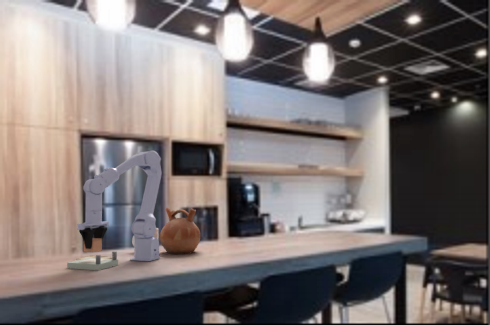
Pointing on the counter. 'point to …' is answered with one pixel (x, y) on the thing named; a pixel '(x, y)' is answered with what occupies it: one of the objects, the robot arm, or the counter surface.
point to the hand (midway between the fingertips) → (93, 247)
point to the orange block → (95, 245)
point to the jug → (180, 233)
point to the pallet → (95, 257)
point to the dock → (94, 263)
